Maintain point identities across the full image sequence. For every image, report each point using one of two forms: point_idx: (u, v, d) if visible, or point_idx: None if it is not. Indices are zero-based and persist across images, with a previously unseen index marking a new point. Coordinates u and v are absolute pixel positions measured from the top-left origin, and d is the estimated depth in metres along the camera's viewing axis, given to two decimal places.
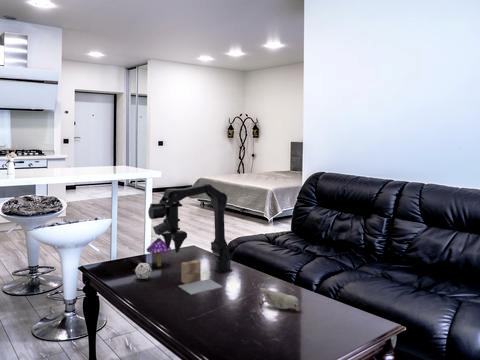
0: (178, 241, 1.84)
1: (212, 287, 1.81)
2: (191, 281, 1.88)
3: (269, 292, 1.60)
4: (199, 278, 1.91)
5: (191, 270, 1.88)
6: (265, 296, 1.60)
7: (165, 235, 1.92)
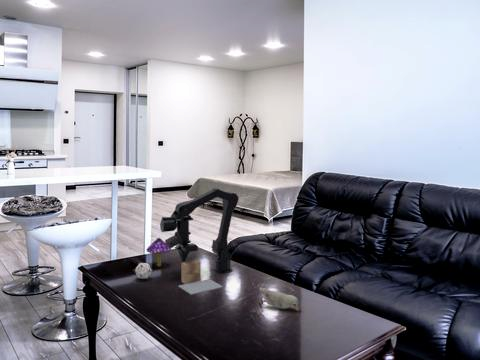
0: (185, 251, 1.95)
1: (212, 287, 1.81)
2: (191, 281, 1.88)
3: (268, 292, 1.60)
4: (199, 278, 1.91)
5: (191, 270, 1.88)
6: (264, 296, 1.60)
7: None
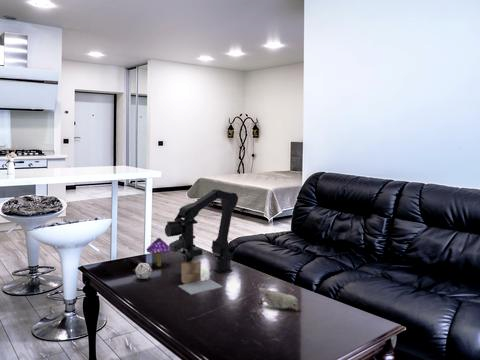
0: (189, 256, 1.91)
1: (212, 287, 1.81)
2: (191, 281, 1.88)
3: (268, 292, 1.60)
4: (199, 278, 1.91)
5: (191, 270, 1.88)
6: (264, 296, 1.60)
7: None
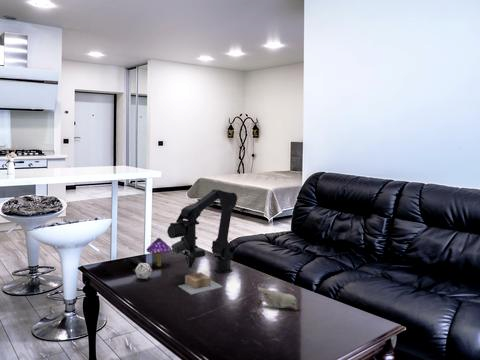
0: (191, 257, 1.89)
1: (212, 287, 1.81)
2: None
3: (267, 291, 1.61)
4: None
5: None
6: (263, 295, 1.61)
7: None
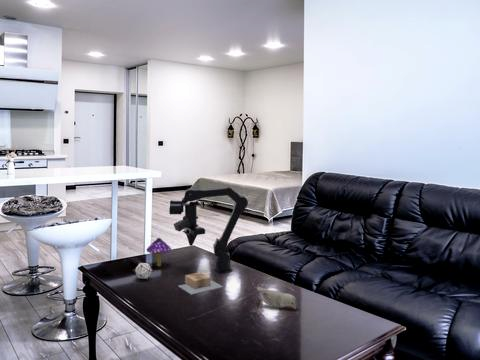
0: (192, 235, 2.02)
1: (212, 287, 1.81)
2: None
3: (266, 291, 1.61)
4: None
5: None
6: (262, 295, 1.61)
7: None
